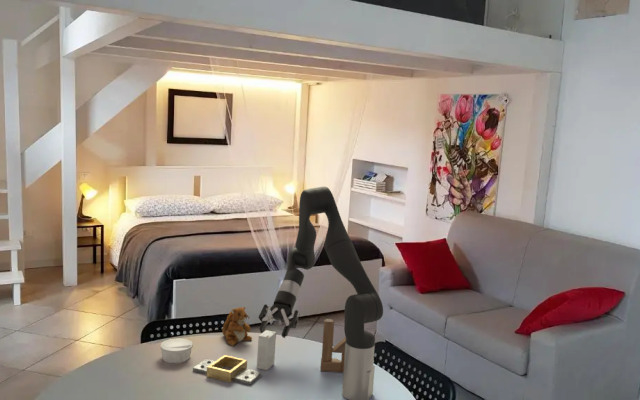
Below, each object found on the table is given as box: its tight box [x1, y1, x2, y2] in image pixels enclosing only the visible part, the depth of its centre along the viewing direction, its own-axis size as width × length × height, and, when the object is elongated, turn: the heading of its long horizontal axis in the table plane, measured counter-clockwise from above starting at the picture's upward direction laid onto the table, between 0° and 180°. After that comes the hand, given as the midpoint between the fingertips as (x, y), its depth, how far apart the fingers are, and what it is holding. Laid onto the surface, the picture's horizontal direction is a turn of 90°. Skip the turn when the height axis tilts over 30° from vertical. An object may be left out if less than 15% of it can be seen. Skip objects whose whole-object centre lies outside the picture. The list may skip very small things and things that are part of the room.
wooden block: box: [320, 318, 346, 374], centre depth 190 cm, size 4×11×18 cm, turn 89°
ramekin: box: [159, 337, 194, 364], centre depth 193 cm, size 11×11×5 cm
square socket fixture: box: [192, 354, 263, 386], centre depth 184 cm, size 22×11×4 cm, turn 69°
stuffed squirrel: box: [221, 306, 253, 347], centre depth 214 cm, size 10×14×13 cm
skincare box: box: [256, 329, 277, 371], centre depth 190 cm, size 6×4×12 cm
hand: (272, 334), depth 194 cm, fingers open, 8 cm apart
